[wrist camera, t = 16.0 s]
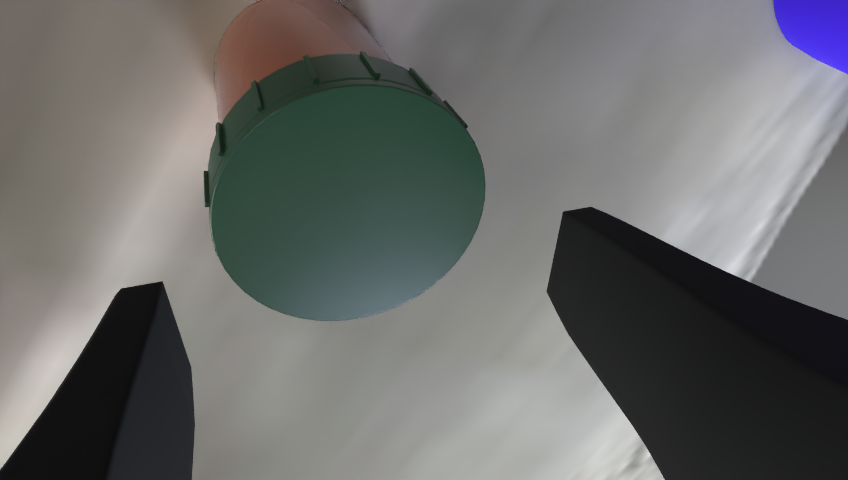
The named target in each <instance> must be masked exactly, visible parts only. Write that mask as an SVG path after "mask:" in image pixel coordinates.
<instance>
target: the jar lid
mask: <svg viewBox="0 0 848 480" xmlns="http://www.w3.org/2000/svg"><path fill="white" fill-rule="evenodd" d="M303 59H304V60H301V61H297V62H295V63H292V64H290V65H288V66H285V67H283V68H280V69H278V70H277V71H275V72H273V73H272V74H270V75H268V76H266V77H265V78H263V79H262V80H260V81H259V82H256V81H255V80H254V81H253V82H251V88H250V89H249V90H248V91H247V92H246V93H245V94H244V95H243V96H242V97H241V98H240V99H239V100H238V101H237V102H236V103H235V104H234V106H233V107H232V108H231V110H230V111H229V113H228V114H227V115H226V117H225V118H224V120H223V122H222V124H221V123H219V122H218V123H217V124H216V136H215V139H214V142H213V145H212V148H211V152H210V158H209V164H208V171H204V197H205V207H209V214H210V228H211V235H212V241H213V244H214V247H215V251H216V253H217V256H218V257H219V259H220V261H221V263H222V265H223V267H224V269H225V270H226V272H227V273H228V274H229V276H230V277H231V278H232V280H233V281H234V282H235V283H236V284H237V285H238V286H239V287H240V288H241V289H242V290H243V291H244V292H245V293H247V294H248V295H249V296H251V297H252V298H254V299H255V300H256V301H258V302H260V303H261V304H263V305H265V306H267V307H269V308H271V309H273V310H276V311H278V312H281V313H283V314H286V315H290V316H294V317H298V318H303V319H310V320H319V321H340V320H351V319H357V318H363V317H367V316H371V315H375V314H379V313H381V312H384V311H387V310H390V309H393V308H395V307H397V306H399V305H402V304H404V303H406V302H408V301H409V300H411V299H413V298H415V297H417V296H418V295H420V294H421V293H423V292H424V291H426V290H427V289H429V288H430V287H431V286H433V285H434V284H435V283H436V282H437V281H439V280H440V279H441V278H442V277H443V276H444V275H445V274H446V273H447V272H448V271H449V270H450V269H451V268H452V267H453V266H454V265H455V264H456V262H457V261H458V260H459V258H460V257H461V256H462V255H463V253H464V252H465V250H466V248H467V247H468V245H469V244H470V242H471V240H472V238H473V236H474V234H475V232H476V230H477V227H478V224H479V221H480V218H481V215H482V211H483V206H484V200H485V175H484V168H483V164H482V160H481V156H480V154H479V151H478V149H477V147H476V145H475V142H474V141H473V139H472V137H471V136H470V134H469V133H468V131H467V130H466V128H467V127H468V126H467V125H466V123H465V122H464V121H463V120H462V119H461V117H460V116H459V115H458V114H457V113H456V112H455V111H454V109H453V108H452V107H451V106H450V105H449V104H448V103H447V101H446V100H445V101H442V100H441V99H440V98H439V97H438V96H437V95H436V93H435V92H434V91H433V90H432V89H431V88H430V87H429V86H428V85H427V84H426V83H425V82H424V81H423V79H422V78H421V77H420V76H419V75H418V74H417V72H416V71H415V70H414V69H412V68H410V69H409V71H408V70H406V69H405V68H403V67H401V66H398V65H396V64H394V63H391V62H389V61H386V60H383V59H379V58H375V57H372V56H368V55H367V54H366V52H364V51H360V55H358V54H330V55H323V56H316V57H312V58H309V56H308V55H305V56H303Z"/></svg>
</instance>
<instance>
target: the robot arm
mask: <svg viewBox="0 0 848 480" xmlns="http://www.w3.org/2000/svg"><path fill="white" fill-rule="evenodd" d="M547 293H548V295H549V297H550V299H551V301H552V303H553V305H554V307H555V309H556V312H557V314H558V316H559V317H560V319H561V321H562V323H563V325H564V327H565V329H566V330H567V332H568V334H569V336H570V337H571V339H572V340H573V342H574V343H575V345H576V346H577V348H578V349H579V350H580V352H581V353H582V355H583V356H584V358H585V359H586V360H587V362H588V363H589V365H590V366H591V368H592V369H593V370H594V372H595V373H596V375H597V376H598V378H599V379H600V380H601V382H602V383H603V385H604V386H605V387H606V389H607V390H608V392H609V393H610V394H611V396H612V397H613V399H614V400H615V401H616V403H617V404H618V406H619V407H620V409H621V410H622V411H623V413H624V414H625V416H626V417H627V418H628V420H629V421H630V423H631V424H632V425H633V427H634V428H635V430H636V432H637V433H638V435H639V436H640V438H641V439H642V441H643V442H644V444H645V445H646V447H647V449H648V450H649V452H650V454H651V456H652V457H653V459H654V461H655V463H656V464H657V466H658V468H659V470H660V472H661V473H662V475H663V477H664V479H665V480H848V320H846V319H844V318H841V317H838V316H834V315H832V314H829V313H826V312H823V311H821V310H818V309H816V308H813V307H810V306H807V305H804V304H802V303H799V302H797V301H794V300H791V299H788V298H786V297H784V296H781V295H779V294H776V293H774V292H771V291H769V290H766V289H764V288H761V287H759V286H757V285H755V284H753V283H750V282H748V281H746V280H743V279H741V278H739V277H737V276H734V275H732V274H730V273H728V272H725V271H723V270H721V269H719V268H717V267H715V266H713V265H711V264H708V263H706V262H704V261H702V260H700V259H698V258H696V257H694V256H692V255H690V254H688V253H686V252H684V251H682V250H680V249H678V248H676V247H674V246H672V245H670V244H668V243H666V242H664V241H662V240H660V239H658V238H656V237H654V236H652V235H650V234H648V233H646V232H644V231H642V230H640V229H638V228H636V227H634V226H632V225H630V224H628V223H626V222H624V221H622V220H620V219H618V218H615V217H613V216H611V215H609V214H607V213H604V212H602V211H600V210H597V209H595V208H592V207H587V208H582V209H576V210H570V211H565V212H563V215H562V220H561V225H560V229H559V234H558V239H557V244H556V249H555V254H554V258H553V263H552V268H551V273H550V278H549V283H548V287H547ZM194 429H195V419H194V401H193V387H192V373H191V366H190V363H189V360H188V357H187V354H186V351H185V348H184V345H183V342H182V338H181V335H180V332H179V329H178V326H177V323H176V320H175V317H174V314H173V311H172V308H171V305H170V302H169V299H168V296H167V293H166V290H165V287H164V284H163V281H162V282H157V283H151V284H145V285H139V286H134V287H128V288H122V289H120V291H119V292H118V293H117V294H116V295H115V297H114V299H113V300H112V302H111V304H110V306H109V307H108V309H107V311H106V312H105V314H104V316H103V318H102V319H101V321H100V323H99V325H98V326H97V328H96V330H95V331H94V333H93V335H92V336H91V338H90V340H89V341H88V343H87V344H86V346H85V348H84V349H83V351H82V353H81V354H80V356H79V358H78V359H77V361H76V362H75V364H74V365H73V367H72V368H71V370H70V371H69V373H68V374H67V376H66V378H65V379H64V381H63V382H62V384H61V385H60V387H59V388H58V390H57V391H56V393H55V394H54V396H53V397H52V399H51V400H50V402H49V403H48V405H47V406H46V408H45V409H44V411H43V412H42V414H41V415H40V416H39V418H38V419H37V420H36V422H35V423H34V425H33V426H32V427H31V429H30V430H29V431H28V433H27V434H26V436H25V437H24V438H23V440H22V441H21V442H20V444H19V445H18V447H17V448H16V449H15V451H14V452H13V453H12V455H11V456H10V458H9V459H8V460H7V462H6V463H5V464H4V466H3V467H2V468H1V469H0V480H192V465H193V447H194Z"/></svg>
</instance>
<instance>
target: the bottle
mask: <svg viewBox="0 0 848 480" xmlns="http://www.w3.org/2000/svg"><path fill="white" fill-rule="evenodd" d="M774 10H775V15H776V19H777V21H778V24H779V26H780V29H781V31H782V33H783V34H784V36H785V38H786V39H787V40H788V41H789V42H790V43H791V44H792V45H793V46H795V47H797V48H798V49H800V50H802V51H803V52H805V53H806V54H808V55H810V56H811V57H813V58H815V59H817V60H818V61H821V62H823V63H825V64H827V65H829V66H831V67H833V68H836V69H838V70H840V71H842V72H844V73H846V74H848V0H774Z"/></svg>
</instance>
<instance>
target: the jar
mask: <svg viewBox="0 0 848 480" xmlns="http://www.w3.org/2000/svg"><path fill="white" fill-rule="evenodd" d="M360 51H364V52H366V54H367V55H368V56H372V57H375V58H379V59H383V60H386V61H389V62H391V63H393V62H392V60H391V59H390V58H389V57H388V55H387V54H386V53H385V52H384V50H383V49H382V48H381V46H380V45H379V44H378V43H377V41H376V40H375V39H374V38H373V36H372V35H371V34H370V33H369V31H368V30H367V29H366V28H365V26H364V25H363V24H362V23H361V22H360V21H359V19H358V18H357V17H356V16H355V15H354V14H352V13H351V12H350V11H349V10H348V9H346V8H345V7H343V6H342V5H340V4H339V3H336V2H334V1H332V0H260V1H258V2H256V3H255V4H253V5H251V6H249V7H248V8H247V9H245V10H244V11H243V12H242V13H240V14H239V15H238V16H237V17H236V18H235V20H234V21H233V22H232V23H231V24H230V26H229V27H228V29H227V30H226V31H225V33H224V35H223V37H222V39H221V41H220V44H219V47H218V50H217V54H216V59H215V70H214V76H215V87H216V99H217V110H218V122H219V123H221V124H222V122H223V120H224V118H225V117H226V115H227V114H228V113H229V111H230V110H231V108H232V107H233V106H234V104H235V103H236V102H237V101H238V100H239V99H240V98H241V97H242V96H243V95H244V94H245V93H246V92H247V91H248V90H249V89H250V88H251V82H253V81H254V80H255V81H256V82H259V81H260V80H262V79H263V78H265V77H266V76H268V75H270V74H272V73H273V72H275V71H277V70H278V69H280V68H283V67H285V66H288V65H290V64H292V63H295V62H297V61H301V60H304V59H303V56H305V55H308V56H309V58H312V57H316V56H323V55H330V54H358V55H360Z"/></svg>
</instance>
